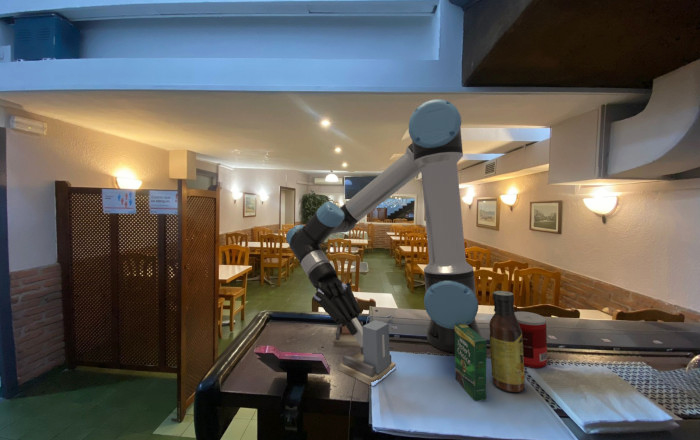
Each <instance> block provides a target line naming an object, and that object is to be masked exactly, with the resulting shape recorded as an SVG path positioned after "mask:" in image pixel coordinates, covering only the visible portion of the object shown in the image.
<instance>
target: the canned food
mask: <svg viewBox="0 0 700 440" xmlns="http://www.w3.org/2000/svg"><path fill="white" fill-rule="evenodd" d="M514 314H515V316H516V318H517V321H518V323H519V325H520V328H521V330H522V340H523V341H522V342H523V358H524V367H527V368H532V369H539V368H540V369H541V368H544V367H546V366H547V365H548V364H547V363H548V348H547V347H548V341H547V340H548V339H547V338H548V337H547V334H548V333H547V320H546V317H544V316H543V315H540V314H539V313H535V312H529V311H514Z"/></svg>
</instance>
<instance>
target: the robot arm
mask: <svg viewBox="0 0 700 440" xmlns="http://www.w3.org/2000/svg"><path fill="white" fill-rule="evenodd" d="M461 126H462V116H461V114H460V112H459V109H458V108H457V107H456V105H454V104H453V103H452V102H450V101H448V100H446V99H441V98H434V99H431V100H427V101H425V102H423V103H421V104H420V105H418V106H417V108H415V110H414V111H413V112H412V114H411V116H410V117H409V122H408V134H409V137H410V139H411V144H409V145H408V146H407V147H406V151H405V153H403V155H401V156H400V157H399V158H397V160H396V161H394V162H392V164H391V165H389V166H388V167H387V168H386V169H384V171H382V172H381V173H380V174H378V175H377V176H376V177H375V178H374V179H373V180H372V181H370V182H369V183H368V184H366V185H365V186H364V187H363V188H362V189H360V190H359V191H358V192H357V193H355V195H353V196H352V197H350V199H349V200H348V201H346V202H345V203H344V204H343V205H341V207H340V206H338V205H337V204H335V203H333V202H332V201H325V202H324V203H323V204H322V205H321V206H320V207H318V209H317V210H316V212H315V213H314V214H313V215H312V216H311V217H310V218H309V220H308V221H307V223H305V225H304V224H297V225H294V226H293V228H290V229H289V230H288V231H287V232H286V236H285V239H286V242H287V244H288V246H289V249H290V250H291V251H292V253H293V254H294V256H295V257H296V259H297V261H298V262H299V264H300V266H301V267H302V269H303V271H304V273H305V274H306V276H307V277H308V279H309V281H310V283H311V285H312V287H314V288H315V291H316V292H315V294H314V295H313V297H312V300H313V301H315V302H316V303H318V305H320V306H321V308H322V309H323V310H324V311H325V313H327V314H328V316H329V317H330V318H331V319H332V320H333V322H334V323H336V325H337V326H338V325H340V324H342V326H343V327H345V326H346V327H347V328H348V330H349V332H350V333H351V335H352V336H353V335H354V337H355V338H356V340H357V342H358V343H359V345H360V346H361V347H360V346H359V347H360V349H361V348H362V347H363V329H362V326H364V324H363V325H362V323H361V322H362V321H361V320H360V319H359V316H360V314H361V313H362V312H361V311H362V310H361V309H360V305H359V303H358V300H357V301H356V299H355V297H356V296H355V295H354V292H353V290H352V284H351V283H350V282H347V283H344V282H343V281H342V280H341V279H340V278H338V275H337V271H336V269H335V267H334V266H333V265H332V263H331V262H330V260H329V258H328V257H327V255H326V254H325V253H324V251H323V250H322V248H321V247H320V246H321V245H322V244H323V243H324V242H325V241H326V240H327V238H329V237H330V236H331V235H334V234H341V233H348V232H349V231H352V230H353V229H354V228H355V227H356V226H357V225H356V224H357V223H359V221H361V220H362V219H363V218H364V217H366V216H368V215H369V214H370V213H371V212H372V211H374V209H376V208H377V207H379V206H380V205H381V204H382V203H384V202H385V201H386V200H388V198H390V197H392V196H393V195H394V194H395V193H396V192H398V191H400V189H402V188H403V187H404V186H406V185H407V184H408V183H409V182H411V181H412V180H413V179H414V178H416V177H418V175H420V174H421V185H422V194H423V195H422V196H423V207H424V219H425V229H426V240H427V241H426V242H427V251H428V264H427V265H426V266H425V267H424V268H423V275H424V287H425V294H424V297H423V303H424V309H425V311H426V312H425V313H426V314H427V315H428V317H429V318H430V320H429V322H428V326H427V329H426V340H427V342H428V343H429V344H430V345H431V346H432V347H435V348H437V349H439V350H442V351H444V352H450V353H454V354H455V327H454V326H455V325H456V324H466V325H467V326H469V327H470V328H471V329H472V330H474V331H475V332H476V333H478V334H479V335H480V336H481V337H483V336H482V333H481V330H480V329H479V325H478V323H477V320H476V317H477V314H478V311H479V301H478V298H477V293H476V283H475V272H474V271H475V270H474V267H473V266H472V265H471V264H469V263H468V262H467V259H466V248H465V238H464V237H465V236H464V226H463V216H462V215H463V214H462V206H461V205H462V204H461V203H462V202H461V195H460V193H461V192H460V183H459V181H460V180H459V173H458V172H459V171H458V163H459V162H460V160H461V159H462V158H463V156H464V154H463V141H462V130H461V128H462V127H461ZM357 303H358V304H357Z"/></svg>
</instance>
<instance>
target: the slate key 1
mask: <svg viewBox="0 0 700 440" xmlns="http://www.w3.org/2000/svg"><path fill="white" fill-rule="evenodd" d="M362 329H363V354H364V363H366V364H369V365H371V366H374V369H375V373H376V374H379V373H380V372H382V371H383V370H384V369H386V368H387V367H388V366H390V355H391V353H390V351H391V350H390V327H389V323H388V322H384V321H380V320H377V319H374V320H372V321H370V322H369V323H366V324H363V326H362Z"/></svg>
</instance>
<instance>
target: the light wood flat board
mask: <svg viewBox="0 0 700 440" xmlns="http://www.w3.org/2000/svg"><path fill="white" fill-rule="evenodd" d="M360 322H361V323H362V325H363V326H364V324H363V323H364V322H363V321H360ZM334 335H335V336H334V338H333V347H360V351H359V352H357V353H356V354H354V355H351V356H349V355H347V354H344V355H342V362H341V363H338V370H339V371H340V372H342V373H344V374H345V375H348V376H350V377H352V378H354V379H356V380H358V381H360V382H363V383H364V384H366V385H369V386H370V384H371V382H374V381H376V380H379V379H381V378H382V377H383V376H384V375H386V374H387V373H388V372H389V371H390V370H392V369H393V368H394V367H395V366H397V365H396V362H393V361H392V355H391V354H390V366H388V367H387V368H386V369H384V370H383V371H382V372H380V373H379V374H376V373H375V369H374V366H371V365H369V364H366V363H364V354H363V347H362V348H361V346H360V345H359V343H358V342H357V340H356V338H355V337H354V335H353V336H352V335H351V333H342V324H340V325H337V328H336V331H335V334H334Z"/></svg>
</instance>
